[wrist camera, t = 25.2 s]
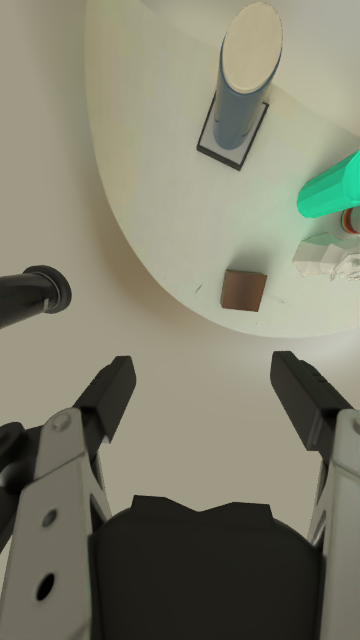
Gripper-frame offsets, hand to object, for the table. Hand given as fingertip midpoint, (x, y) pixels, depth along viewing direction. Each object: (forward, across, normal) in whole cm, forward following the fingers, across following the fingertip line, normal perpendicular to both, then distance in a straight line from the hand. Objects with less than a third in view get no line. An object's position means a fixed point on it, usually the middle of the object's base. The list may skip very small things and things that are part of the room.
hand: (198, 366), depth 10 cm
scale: (+30, -6, -23) cm, 38 cm away
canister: (+28, -7, -23) cm, 37 cm away
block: (+29, -9, +3) cm, 30 cm away
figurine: (+29, -22, -2) cm, 37 cm away
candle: (+29, -21, -12) cm, 38 cm away
